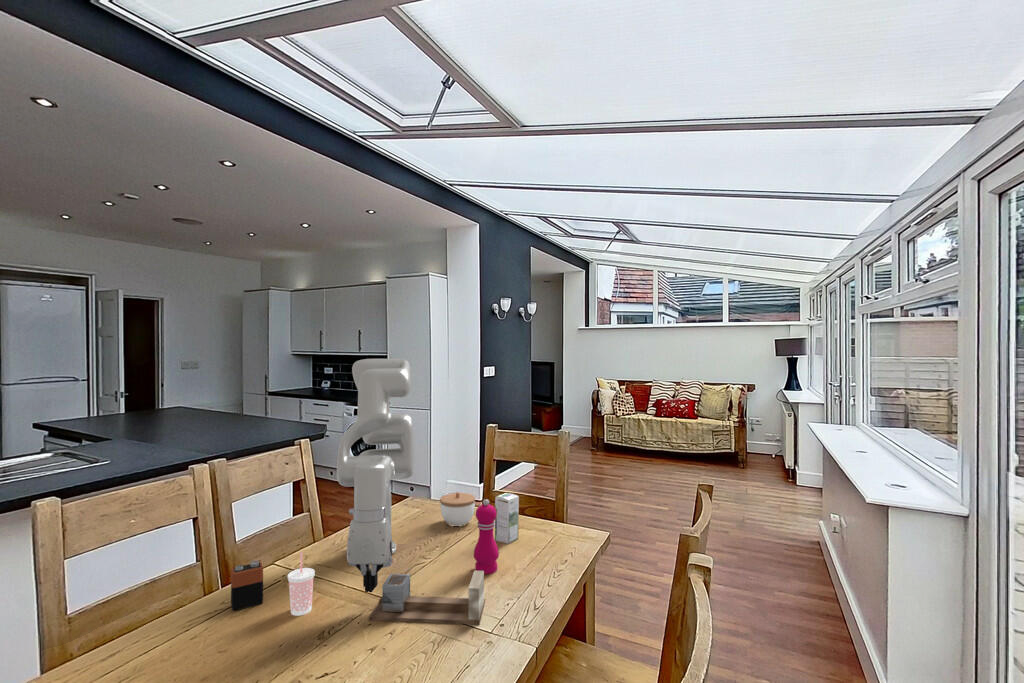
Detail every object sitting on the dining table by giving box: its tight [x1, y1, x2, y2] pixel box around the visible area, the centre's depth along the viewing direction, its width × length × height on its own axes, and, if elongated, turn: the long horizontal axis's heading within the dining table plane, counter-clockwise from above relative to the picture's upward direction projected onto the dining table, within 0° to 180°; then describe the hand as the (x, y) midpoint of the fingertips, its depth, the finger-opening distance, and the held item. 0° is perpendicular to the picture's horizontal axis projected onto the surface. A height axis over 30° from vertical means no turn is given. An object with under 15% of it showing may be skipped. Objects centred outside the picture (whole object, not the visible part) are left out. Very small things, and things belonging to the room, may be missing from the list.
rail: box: [368, 570, 486, 625], centre depth 120 cm, size 26×10×8 cm, turn 86°
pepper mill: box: [473, 499, 500, 575], centre depth 142 cm, size 7×7×20 cm
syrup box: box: [494, 492, 520, 544], centre depth 164 cm, size 6×6×14 cm
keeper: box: [381, 573, 411, 612], centre depth 121 cm, size 5×6×6 cm
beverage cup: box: [287, 552, 316, 617], centre depth 121 cm, size 6×6×14 cm
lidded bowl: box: [439, 491, 476, 526], centre depth 179 cm, size 13×13×11 cm
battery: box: [230, 560, 264, 611], centre depth 124 cm, size 4×7×10 cm, turn 123°
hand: (370, 589), depth 121 cm, fingers closed
